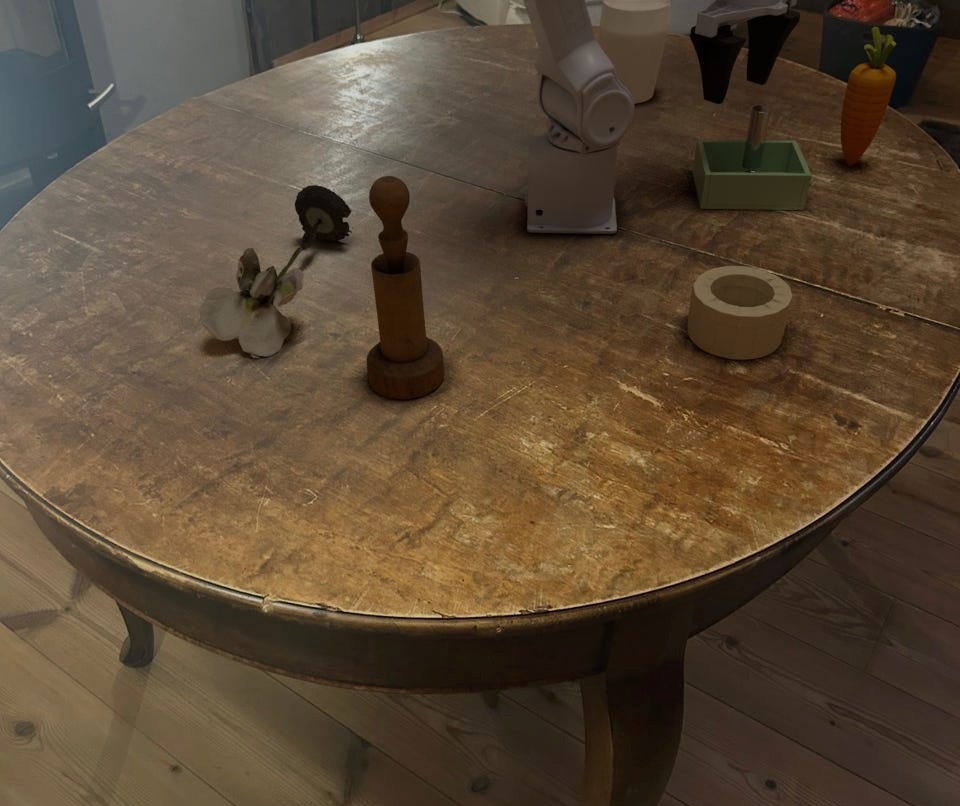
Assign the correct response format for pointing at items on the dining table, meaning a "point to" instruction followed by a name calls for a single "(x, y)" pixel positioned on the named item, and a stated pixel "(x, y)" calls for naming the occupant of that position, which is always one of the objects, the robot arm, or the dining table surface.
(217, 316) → the artificial flower
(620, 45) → the cup
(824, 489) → the dining table surface
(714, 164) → the bin
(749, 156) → the metallic cylinder
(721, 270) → the beige round bowl
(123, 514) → the dining table surface
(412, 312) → the mortar and pestle
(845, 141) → the carrot
